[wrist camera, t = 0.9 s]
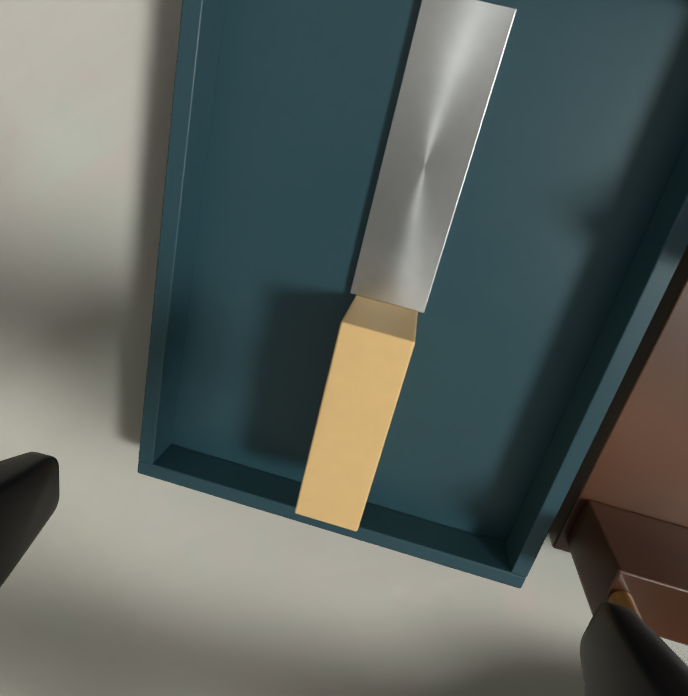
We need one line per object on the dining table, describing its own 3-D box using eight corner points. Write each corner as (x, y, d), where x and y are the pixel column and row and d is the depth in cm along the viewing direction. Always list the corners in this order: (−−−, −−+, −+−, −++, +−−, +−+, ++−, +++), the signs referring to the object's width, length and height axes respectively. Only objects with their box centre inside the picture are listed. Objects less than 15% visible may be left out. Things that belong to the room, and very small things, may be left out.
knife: (373, 475, 20) (362, 534, 17) (310, 457, 20) (288, 512, 17) (515, 10, 14) (539, -31, 11) (424, -10, 15) (423, -57, 11)
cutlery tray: (512, 549, 21) (521, 589, 19) (162, 445, 22) (136, 472, 20) (770, -10, 14) (826, -38, 12) (229, -129, 15) (198, -173, 13)
